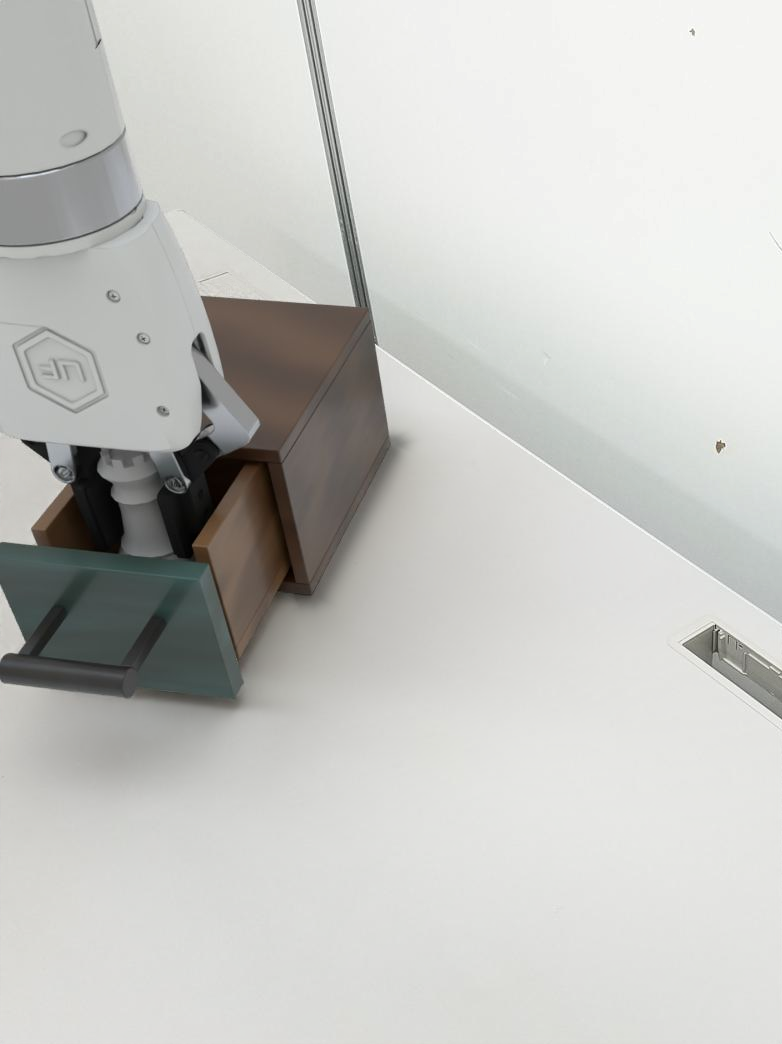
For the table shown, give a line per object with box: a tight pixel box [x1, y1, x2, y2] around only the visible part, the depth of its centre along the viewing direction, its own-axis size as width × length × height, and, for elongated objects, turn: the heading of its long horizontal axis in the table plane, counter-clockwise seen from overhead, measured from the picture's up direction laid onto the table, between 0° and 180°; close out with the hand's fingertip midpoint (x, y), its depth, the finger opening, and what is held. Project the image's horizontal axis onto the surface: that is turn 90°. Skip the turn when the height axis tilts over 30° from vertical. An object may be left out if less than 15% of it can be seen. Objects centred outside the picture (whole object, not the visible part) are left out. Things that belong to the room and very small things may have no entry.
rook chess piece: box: [97, 448, 197, 562], centre depth 63 cm, size 4×4×8 cm
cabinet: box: [179, 295, 391, 596], centre depth 72 cm, size 15×12×10 cm
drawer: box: [0, 457, 292, 700], centre depth 64 cm, size 18×10×8 cm, turn 170°
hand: (155, 534), depth 63 cm, fingers closed on rook chess piece, 3 cm apart
